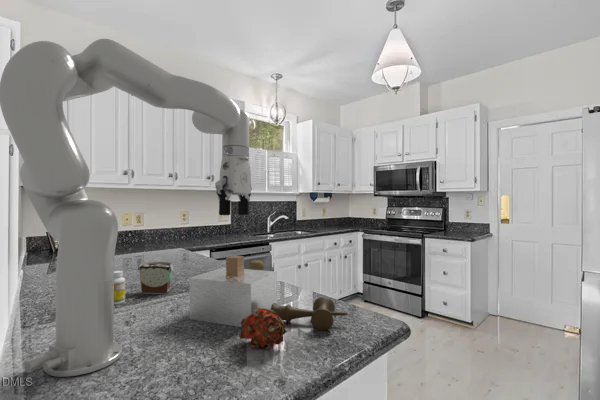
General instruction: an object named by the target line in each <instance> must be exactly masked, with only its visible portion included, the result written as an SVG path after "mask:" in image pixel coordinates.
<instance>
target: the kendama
mask: <svg viewBox="0 0 600 400" xmlns="http://www.w3.org/2000/svg"><path fill="white" fill-rule="evenodd" d="M271 310H273V311H274V312H275V313H276V314H277V315H278V317H280V318H281V319H282V321H286V322H287V323H290V322H291V321H292V320H296V319H301V318H310V317H311V318H310V320H311V325H312V327H313V328H314V329H315V330H317V331H320V332H321V331H322V332H323V331H324V332H327V331H329V330H331V328H332V327H333V325H334V316H335V317H336V316H337V317H338V316H341V317H342V316H344V317H345V316H348V315H349V313H348V312H343V311H342V312H341V311H335V310H336V306H335V303H334V301H333V300H332V299H331V298H329V297H326V296H322V297H321V296H320V297H317V298H316V299H315V300H314V302H313V304H312V310H309V309H304V308H303V309H302V308H297V307H294V306H291V304H290V303H289V304H287V305H279V304H278V303H277V304H276V303H273V304H272V306H271Z"/></svg>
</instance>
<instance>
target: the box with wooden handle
mask: <svg viewBox="0 0 600 400" xmlns="http://www.w3.org/2000/svg"><path fill="white" fill-rule="evenodd" d="M225 259H226V260H225V263H226V264H225V266H223V267H219V268H216V269H214V270H211V271H207V272H205V273H201V274H198V275H195V276H192V277H189V320H194V321H200V322H204V323H205V322H206V323H207V322H208V323H211V324H220V325H224V326H225V325H228V326H233V327H240V328H241V327H242V326H241V323H240V322H242V320H243V319H244V318H247V317H248V316H249V315H252V314H255V313H256V311H257V310H258V308H265V309H271V306H272V304H273V303H276V304H277V305H278V272H277V271H274V270H273V271H272V270H264V269H263V270H250V268H245V256H244V255H230V256H226V258H225ZM238 324H239V325H238Z"/></svg>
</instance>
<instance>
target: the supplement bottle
mask: <svg viewBox="0 0 600 400" xmlns="http://www.w3.org/2000/svg"><path fill="white" fill-rule="evenodd" d="M123 276H124V272H123V270H114V306H115V305H120V304H123V303H125V301H126V278H125V277H123Z"/></svg>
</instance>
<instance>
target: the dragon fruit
mask: <svg viewBox="0 0 600 400" xmlns="http://www.w3.org/2000/svg"><path fill="white" fill-rule="evenodd" d="M240 323H241V326H242V327H240V329H242V331H238V338H239V339H241V340H243V339H246V340H250V344H249V345H250V346H251V347H252V348H254V349H256V348H258V347H259V348H260V347H261V348H263V349H272V348H273V346H275V345H280V344H282V342H284V335H285V334H286V333H288V330H287V329H286V326H285V323H284V320H282V319H281V318H280V317H278V315H277V314H276V313H275V312H274V311H273V310H271V309H265V308H258V310H257V311H256V313H255V314H252V315H249V316H248V317H247V318H244V319H243V320H242V322H240ZM238 325H239V324H238Z"/></svg>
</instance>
